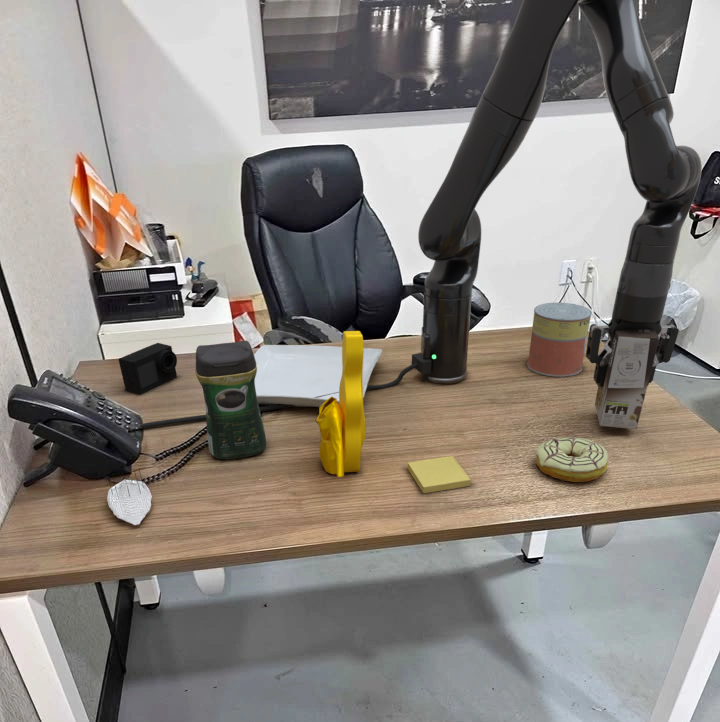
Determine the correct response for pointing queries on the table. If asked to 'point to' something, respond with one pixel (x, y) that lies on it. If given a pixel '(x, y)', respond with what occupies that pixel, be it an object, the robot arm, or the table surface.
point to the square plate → (303, 373)
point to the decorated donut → (572, 459)
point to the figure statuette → (344, 413)
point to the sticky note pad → (438, 474)
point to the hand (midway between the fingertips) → (621, 384)
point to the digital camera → (148, 368)
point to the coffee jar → (230, 399)
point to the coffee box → (626, 378)
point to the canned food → (558, 339)
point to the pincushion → (130, 500)
